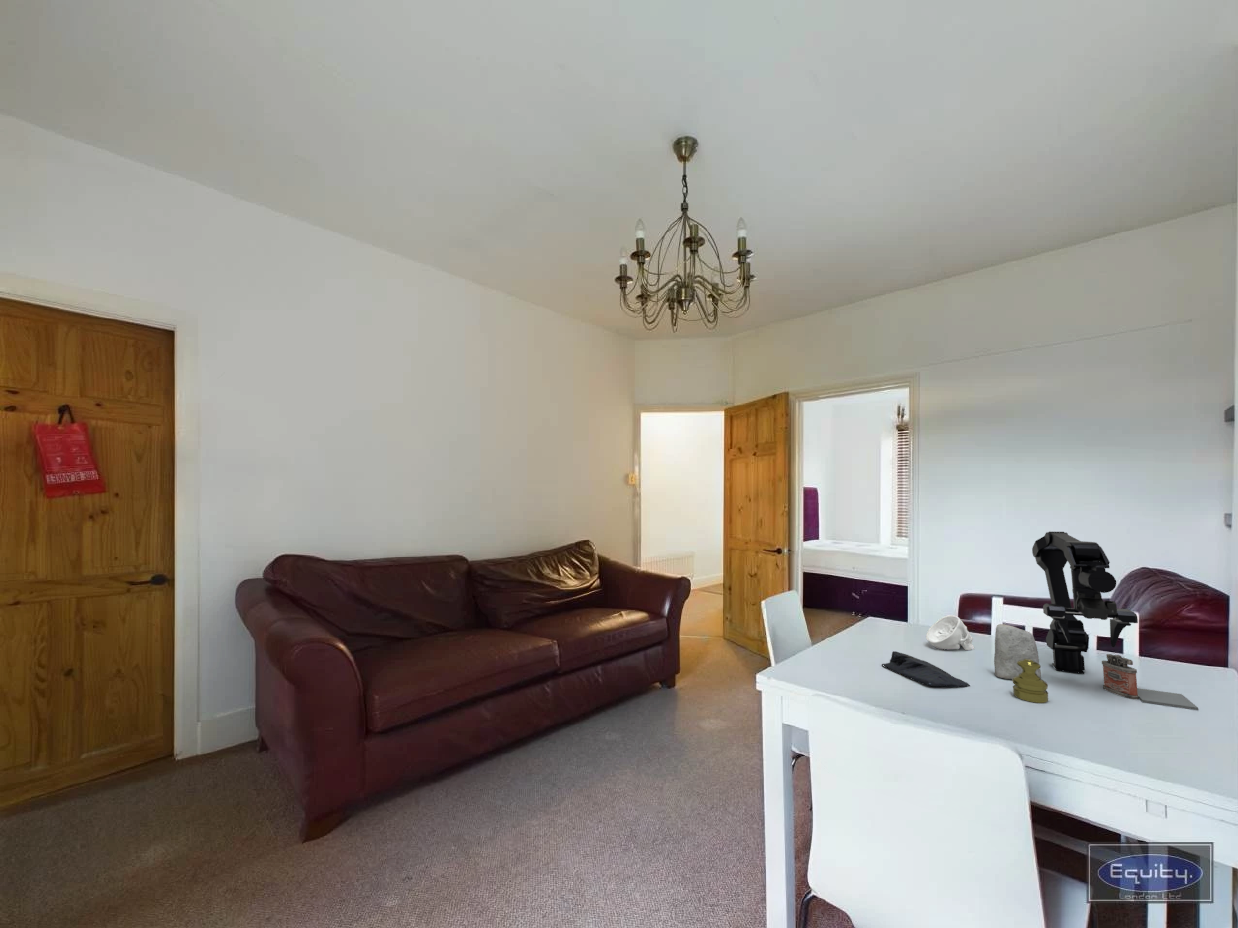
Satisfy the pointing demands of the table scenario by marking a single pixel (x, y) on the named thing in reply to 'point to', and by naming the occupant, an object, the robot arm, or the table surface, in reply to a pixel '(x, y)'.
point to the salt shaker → (1030, 683)
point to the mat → (1165, 699)
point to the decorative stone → (1013, 650)
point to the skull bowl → (949, 634)
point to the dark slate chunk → (922, 671)
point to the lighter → (1120, 676)
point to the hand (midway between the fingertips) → (1090, 644)
